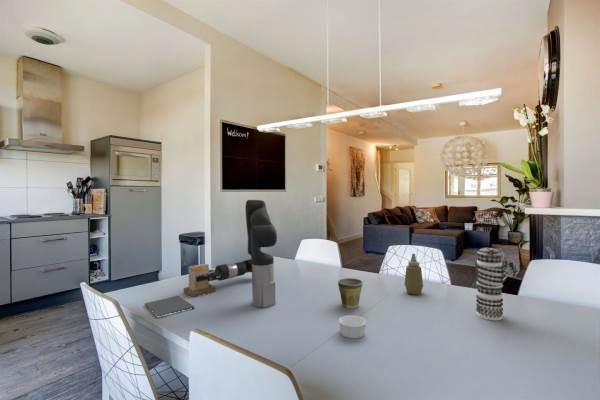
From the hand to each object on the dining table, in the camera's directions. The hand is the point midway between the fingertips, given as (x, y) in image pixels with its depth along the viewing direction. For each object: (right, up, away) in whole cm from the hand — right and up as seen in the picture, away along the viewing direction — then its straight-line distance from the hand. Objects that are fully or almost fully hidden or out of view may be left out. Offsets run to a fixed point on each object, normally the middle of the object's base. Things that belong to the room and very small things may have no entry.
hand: (194, 278), depth 143 cm
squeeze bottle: (+102, -6, -3) cm, 103 cm away
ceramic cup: (+71, -7, -16) cm, 73 cm away
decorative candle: (+120, -7, -30) cm, 124 cm away
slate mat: (-5, -8, -16) cm, 19 cm away
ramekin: (+67, -8, -42) cm, 80 cm away
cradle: (+2, -8, +2) cm, 8 cm away
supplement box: (+2, -8, +2) cm, 8 cm away
